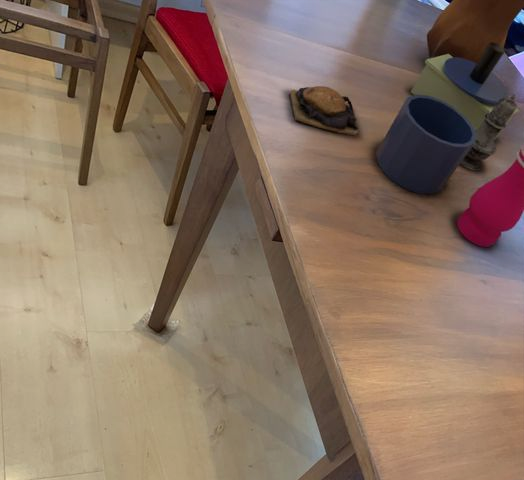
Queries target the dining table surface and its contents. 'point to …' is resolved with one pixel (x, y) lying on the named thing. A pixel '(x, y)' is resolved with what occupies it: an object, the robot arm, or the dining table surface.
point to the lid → (478, 75)
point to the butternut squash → (471, 27)
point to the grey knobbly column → (489, 133)
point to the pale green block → (451, 92)
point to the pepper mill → (495, 206)
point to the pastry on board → (324, 109)
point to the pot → (425, 144)
